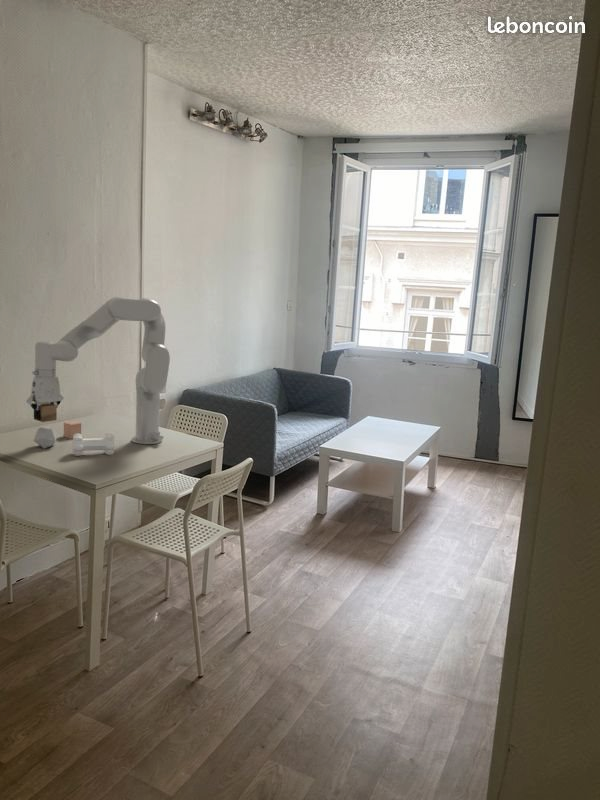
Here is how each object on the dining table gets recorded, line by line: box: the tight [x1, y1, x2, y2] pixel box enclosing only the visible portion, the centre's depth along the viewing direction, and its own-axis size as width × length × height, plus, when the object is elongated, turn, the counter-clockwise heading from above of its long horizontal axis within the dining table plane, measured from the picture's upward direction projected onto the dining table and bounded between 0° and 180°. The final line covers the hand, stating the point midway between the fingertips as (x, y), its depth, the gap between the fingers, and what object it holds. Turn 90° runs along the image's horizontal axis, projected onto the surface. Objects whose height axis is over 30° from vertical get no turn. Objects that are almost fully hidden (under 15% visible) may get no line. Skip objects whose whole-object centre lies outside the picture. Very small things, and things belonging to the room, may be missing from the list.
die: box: [32, 425, 59, 449], centre depth 247 cm, size 8×9×10 cm
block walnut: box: [34, 403, 58, 423], centre depth 245 cm, size 6×6×6 cm
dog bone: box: [72, 432, 116, 457], centre depth 242 cm, size 15×9×8 cm, turn 112°
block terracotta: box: [63, 420, 82, 439], centre depth 265 cm, size 5×5×6 cm
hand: (45, 418), depth 246 cm, fingers closed on block walnut, 6 cm apart
